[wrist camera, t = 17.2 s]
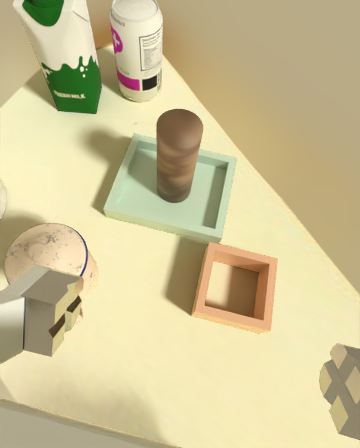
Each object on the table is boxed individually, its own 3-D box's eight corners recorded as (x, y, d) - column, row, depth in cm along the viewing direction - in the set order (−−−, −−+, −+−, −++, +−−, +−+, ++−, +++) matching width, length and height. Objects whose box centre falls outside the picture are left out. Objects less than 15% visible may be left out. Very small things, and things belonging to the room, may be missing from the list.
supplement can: (120, 105, 55) (108, 22, 41) (119, 75, 58) (107, -11, 44) (162, 104, 55) (164, 22, 42) (159, 74, 59) (159, -10, 45)
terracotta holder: (191, 315, 39) (194, 311, 35) (204, 252, 43) (209, 241, 39) (258, 333, 39) (270, 331, 35) (266, 267, 43) (277, 258, 39)
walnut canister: (152, 198, 46) (151, 138, 33) (161, 170, 48) (163, 104, 35) (186, 206, 45) (198, 149, 33) (193, 178, 48) (207, 114, 35)
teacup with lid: (25, 264, 41) (-21, 232, 30) (86, 237, 43) (64, 199, 32) (53, 344, 37) (12, 340, 26) (119, 309, 39) (105, 293, 28)
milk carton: (52, 114, 52) (-3, -13, 34) (62, 80, 56) (17, -51, 38) (100, 118, 53) (71, -5, 35) (107, 84, 57) (84, -44, 38)
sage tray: (106, 216, 45) (103, 208, 42) (134, 144, 51) (133, 133, 48) (217, 244, 44) (221, 238, 42) (232, 168, 50) (236, 158, 48)
